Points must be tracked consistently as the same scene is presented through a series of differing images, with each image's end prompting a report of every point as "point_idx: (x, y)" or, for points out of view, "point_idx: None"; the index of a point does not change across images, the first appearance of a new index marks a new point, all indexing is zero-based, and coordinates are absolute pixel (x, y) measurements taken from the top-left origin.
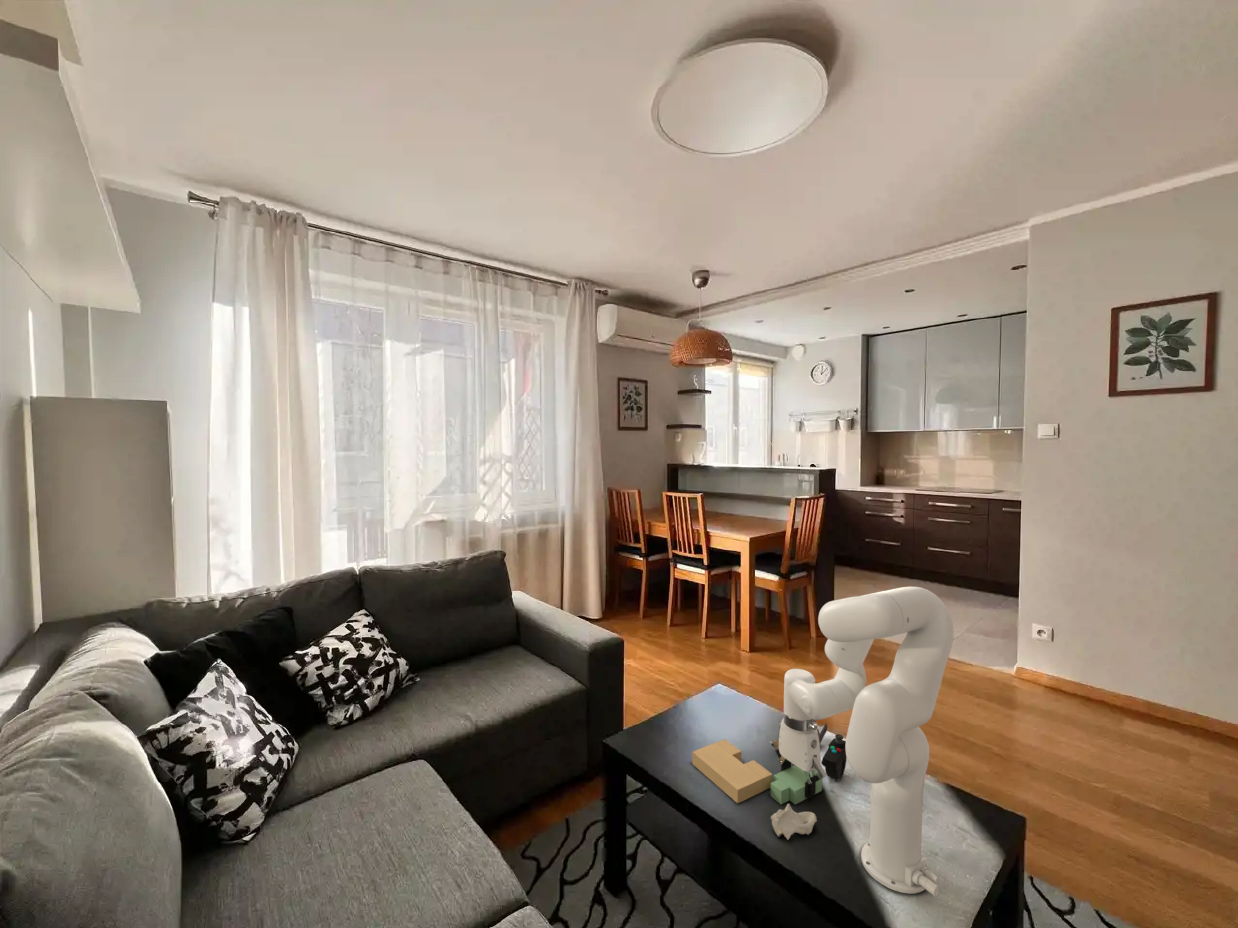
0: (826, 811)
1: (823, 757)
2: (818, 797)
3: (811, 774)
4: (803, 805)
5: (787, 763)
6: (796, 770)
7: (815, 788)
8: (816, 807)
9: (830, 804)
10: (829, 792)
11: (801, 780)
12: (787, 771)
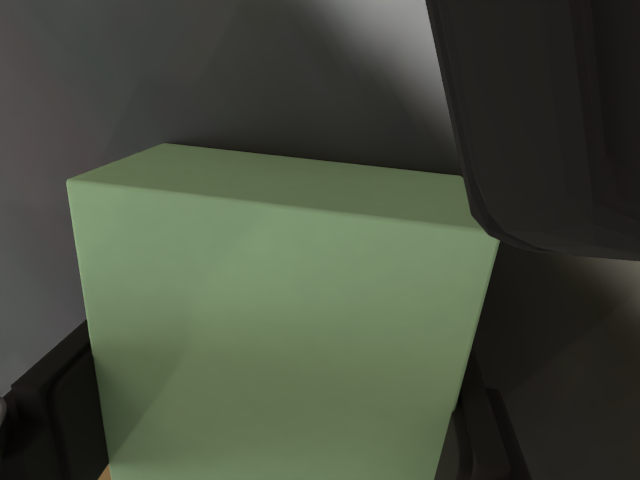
0: (632, 396)
1: (601, 207)
2: (488, 294)
3: (347, 294)
4: None
5: (49, 453)
6: (176, 366)
7: (510, 425)
8: (537, 411)
9: (629, 294)
10: None
11: (339, 470)
12: (141, 448)
